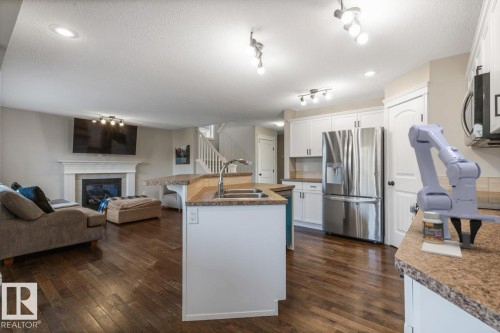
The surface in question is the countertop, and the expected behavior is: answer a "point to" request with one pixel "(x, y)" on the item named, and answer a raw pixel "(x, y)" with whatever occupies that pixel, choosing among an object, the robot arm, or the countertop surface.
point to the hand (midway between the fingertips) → (466, 242)
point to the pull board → (448, 247)
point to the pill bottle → (433, 228)
